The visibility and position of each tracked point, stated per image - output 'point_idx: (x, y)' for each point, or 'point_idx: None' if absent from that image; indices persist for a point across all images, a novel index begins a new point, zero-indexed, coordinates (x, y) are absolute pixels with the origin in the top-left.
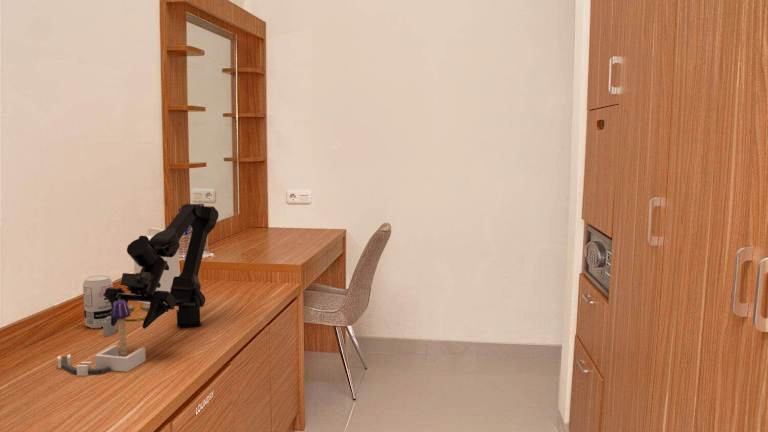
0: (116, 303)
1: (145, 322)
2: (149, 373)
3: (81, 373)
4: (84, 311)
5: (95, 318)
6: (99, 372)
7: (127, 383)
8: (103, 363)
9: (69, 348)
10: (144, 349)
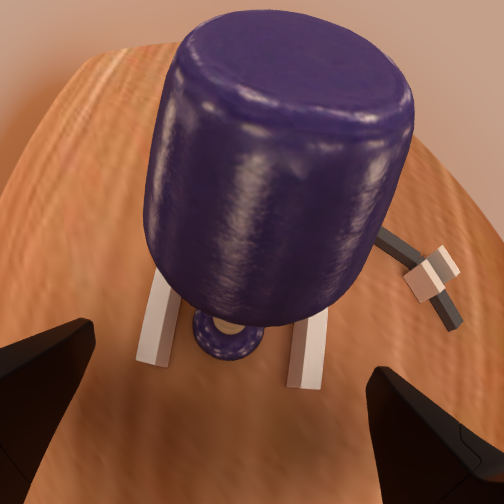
0: (296, 16)
1: (56, 328)
2: (98, 236)
3: None
4: None
5: None
6: None
7: (146, 164)
8: None
9: (487, 422)
10: (138, 354)
